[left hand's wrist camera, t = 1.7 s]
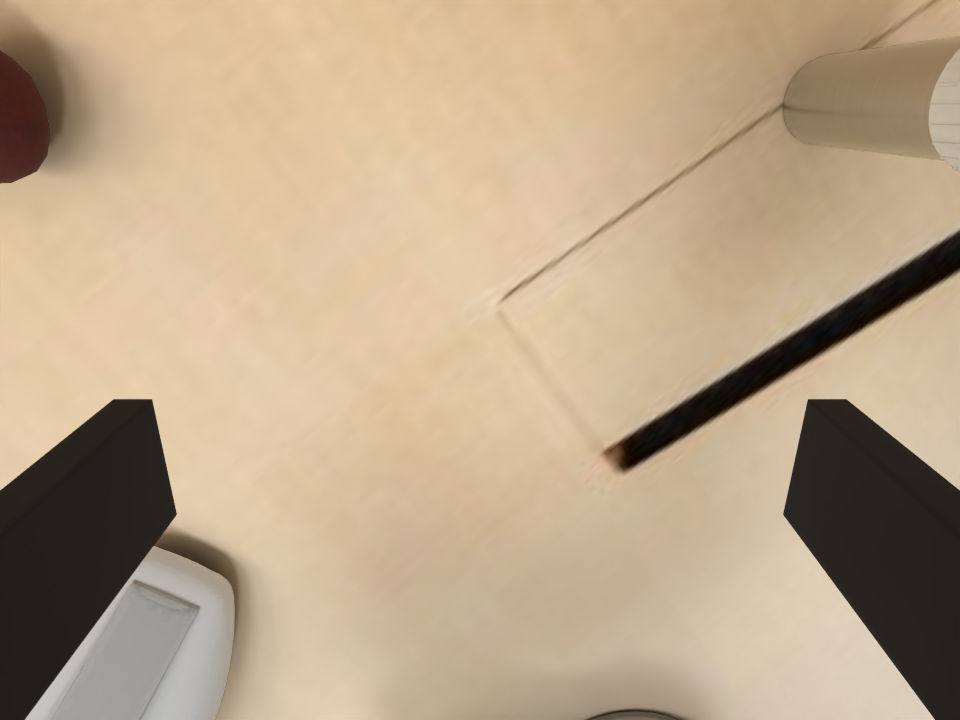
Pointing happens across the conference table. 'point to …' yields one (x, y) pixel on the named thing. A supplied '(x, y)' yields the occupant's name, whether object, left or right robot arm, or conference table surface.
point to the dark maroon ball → (20, 123)
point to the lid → (947, 113)
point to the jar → (869, 98)
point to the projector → (151, 649)
